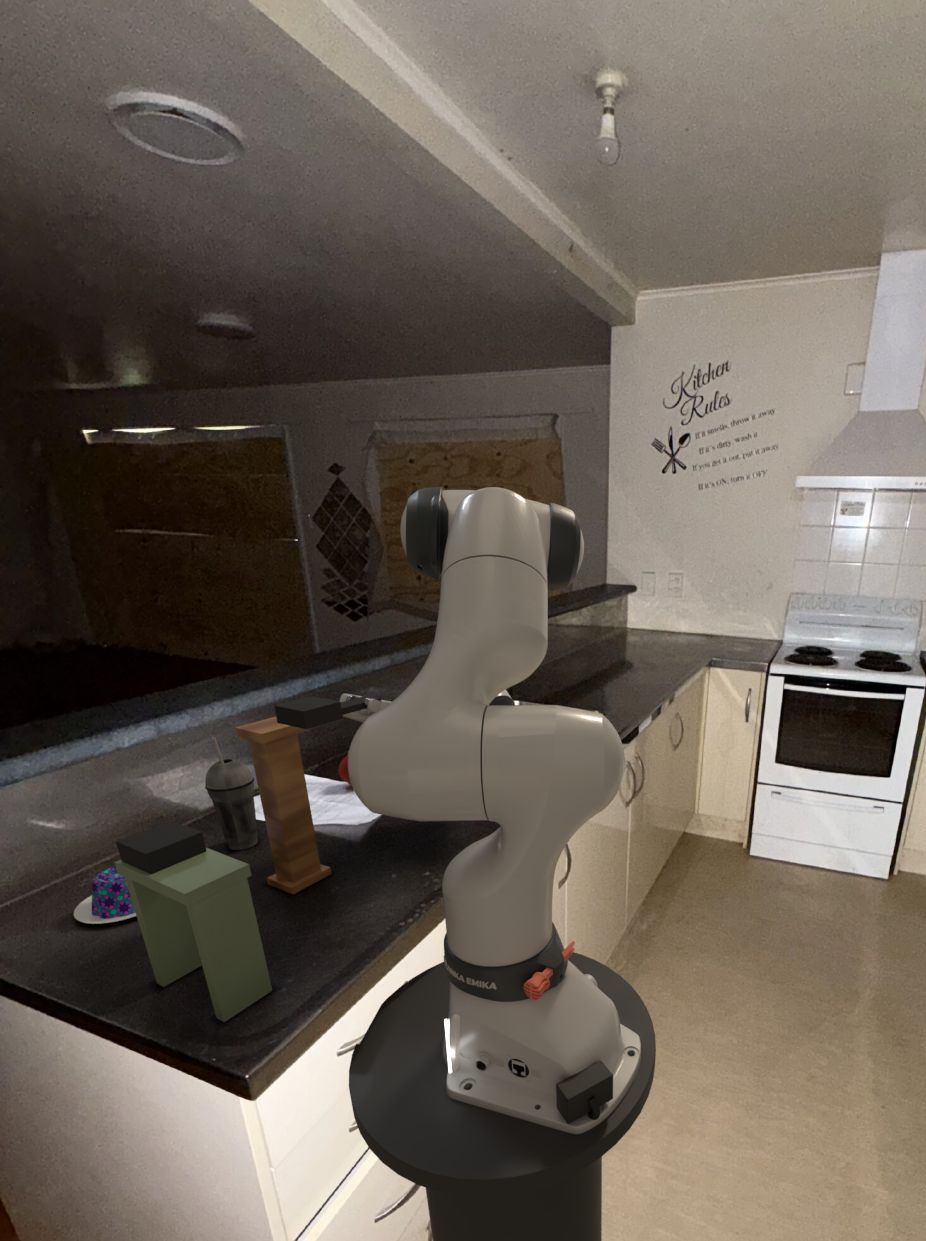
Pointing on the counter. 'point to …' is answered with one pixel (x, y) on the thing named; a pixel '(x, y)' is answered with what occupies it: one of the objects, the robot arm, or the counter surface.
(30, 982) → the counter surface
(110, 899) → the pudding
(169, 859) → the black block
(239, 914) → the low bench
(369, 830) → the counter surface
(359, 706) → the black pad
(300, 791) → the tall stand
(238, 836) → the beverage cup
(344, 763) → the onion
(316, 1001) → the counter surface
